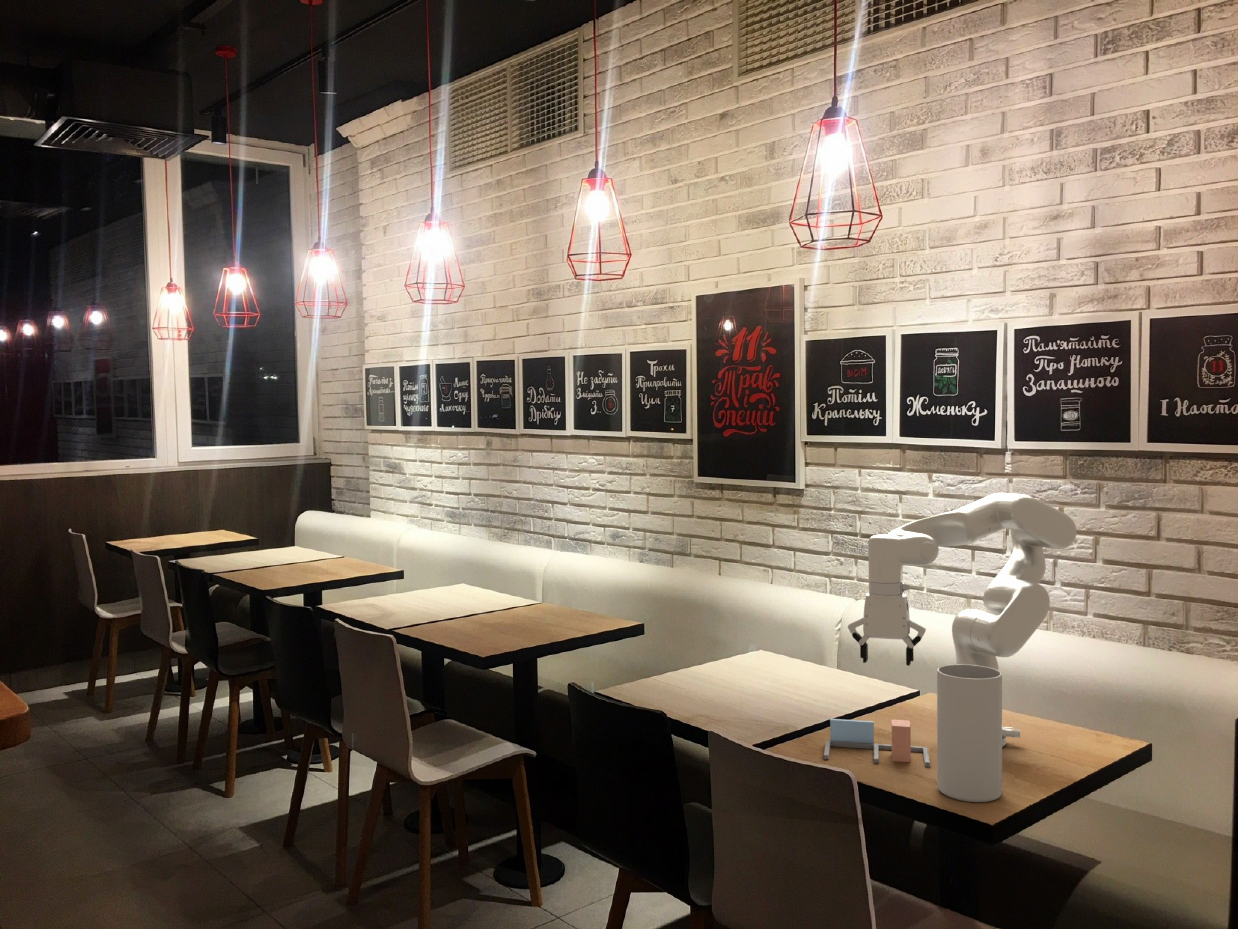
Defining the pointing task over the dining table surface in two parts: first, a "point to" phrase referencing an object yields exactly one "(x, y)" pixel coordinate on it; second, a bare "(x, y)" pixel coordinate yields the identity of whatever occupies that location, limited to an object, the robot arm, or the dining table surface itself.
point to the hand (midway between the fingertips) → (886, 662)
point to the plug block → (901, 741)
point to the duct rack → (860, 738)
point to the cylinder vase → (969, 732)
